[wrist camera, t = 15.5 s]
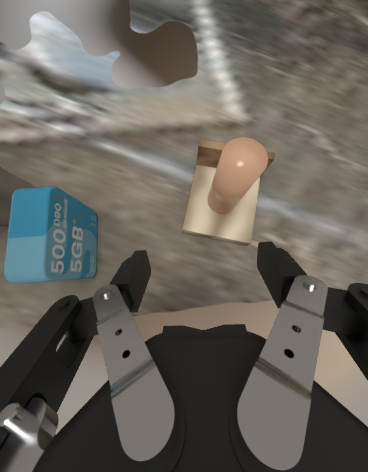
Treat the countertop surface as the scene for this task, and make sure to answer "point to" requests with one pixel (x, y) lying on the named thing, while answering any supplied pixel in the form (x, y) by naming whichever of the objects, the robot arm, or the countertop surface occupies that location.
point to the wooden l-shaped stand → (208, 221)
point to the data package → (49, 237)
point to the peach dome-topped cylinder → (236, 173)
